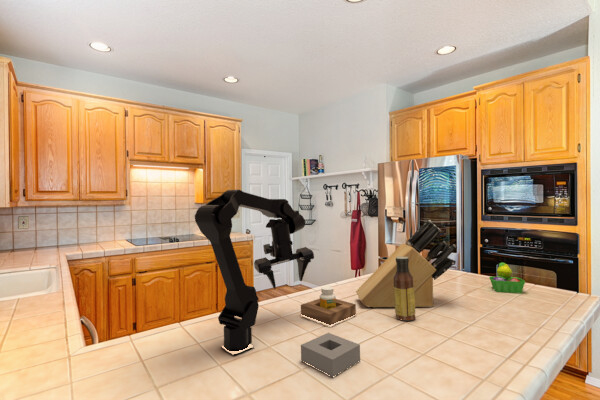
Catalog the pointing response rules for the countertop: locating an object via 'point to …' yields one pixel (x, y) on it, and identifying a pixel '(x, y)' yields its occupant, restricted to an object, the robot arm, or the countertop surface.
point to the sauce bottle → (404, 290)
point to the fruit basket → (506, 281)
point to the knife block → (382, 280)
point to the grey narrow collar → (330, 353)
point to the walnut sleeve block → (328, 311)
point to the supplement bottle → (327, 298)
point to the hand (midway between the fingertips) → (287, 284)
